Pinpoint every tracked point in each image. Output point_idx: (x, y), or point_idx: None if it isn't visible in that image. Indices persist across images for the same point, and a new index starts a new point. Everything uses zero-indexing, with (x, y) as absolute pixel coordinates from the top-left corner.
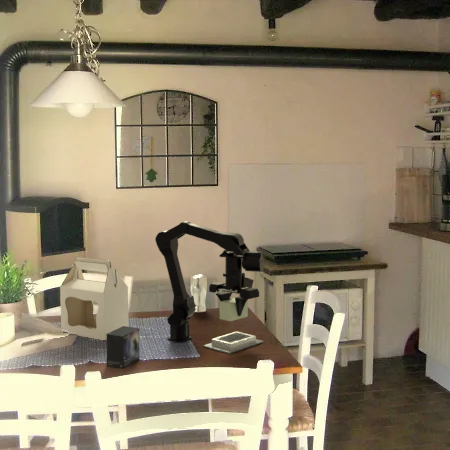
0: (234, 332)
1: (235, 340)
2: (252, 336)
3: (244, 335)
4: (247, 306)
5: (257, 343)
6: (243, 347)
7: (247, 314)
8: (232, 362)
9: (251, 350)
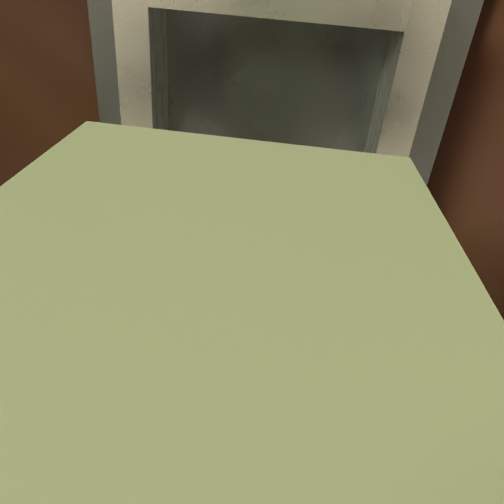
0: (127, 26)
1: (219, 96)
2: (421, 41)
3: (280, 17)
4: (489, 313)
5: (474, 26)
6: None
7: (418, 181)
8: None
9: (487, 220)
